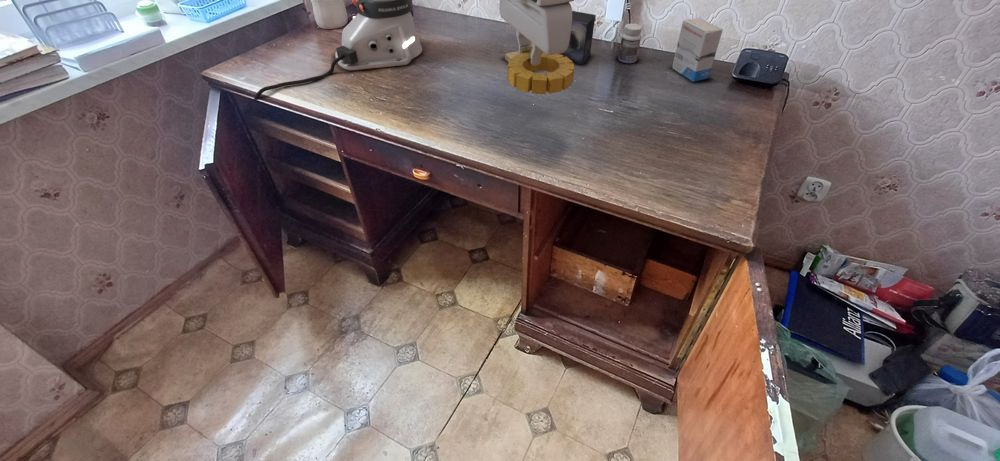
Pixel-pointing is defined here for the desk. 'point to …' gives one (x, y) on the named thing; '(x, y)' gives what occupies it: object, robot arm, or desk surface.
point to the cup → (330, 13)
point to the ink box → (696, 49)
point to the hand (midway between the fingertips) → (529, 59)
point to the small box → (580, 37)
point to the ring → (541, 82)
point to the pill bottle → (630, 43)
